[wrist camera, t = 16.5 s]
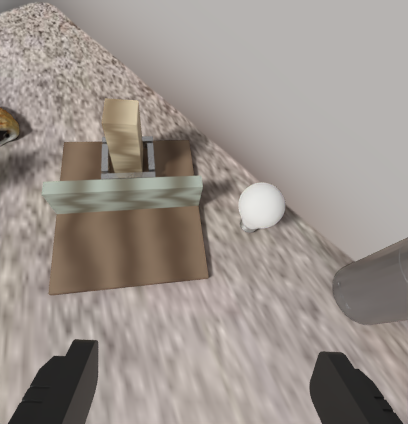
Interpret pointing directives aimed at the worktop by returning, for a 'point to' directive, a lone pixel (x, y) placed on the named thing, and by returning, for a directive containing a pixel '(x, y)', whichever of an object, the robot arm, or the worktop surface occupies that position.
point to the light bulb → (260, 206)
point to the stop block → (123, 134)
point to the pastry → (7, 127)
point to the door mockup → (125, 221)
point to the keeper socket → (107, 175)
